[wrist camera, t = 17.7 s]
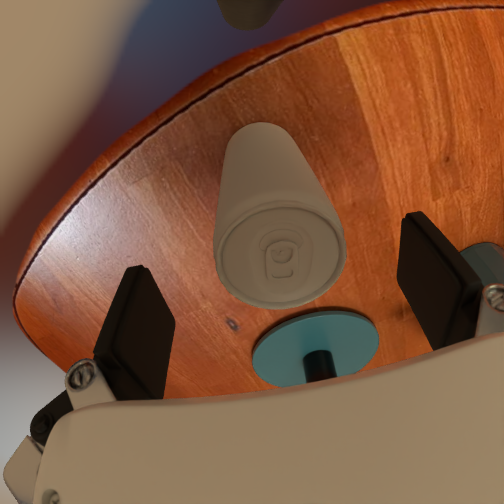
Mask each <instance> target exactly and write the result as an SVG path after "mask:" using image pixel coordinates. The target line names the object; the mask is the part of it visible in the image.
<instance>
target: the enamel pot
mask: <svg viewBox="0 0 504 504" xmlns="http://www.w3.org/2000/svg"><path fill="white" fill-rule="evenodd" d="M460 254H461V255H462V256H463V258H464V259H465V260H466V261H467V262H468V264H469V265H470V266H471V267H472V268H473V270H474V271H475V272H476V273H477V275H478V276H479V277H480V279H481V280H482V281H481V283H482V284H483V285H484V287H486V286H487V285H489V284H492V283H499V284H503V285H504V249H503V248H501V247H499V246H498V245H496V244H494V243H479V244H476V245H473V246H471V247H469V248H467V249H465V250H463V251H461V252H460ZM433 351H434V350H433Z"/></svg>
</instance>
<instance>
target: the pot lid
mask: <svg viewBox="0 0 504 504" xmlns="http://www.w3.org/2000/svg"><path fill="white" fill-rule="evenodd" d="M378 345H379V335H378V332H377V330H376V327H375V326H374V325H373V323H372V322H371V321H369V320H368V319H367V318H365V317H363V316H361V315H359V314H356V313H352V312H346V311H322V312H315V313H310V314H306V315H302V316H299V317H296V318H293V319H291V320H288V321H286V322H284V323H282V324H280V325H278V326H276V327H275V328H273V329H272V330H270V331H269V332H268V333H267V334H265V335H264V336H263V337H262V338H261V339H260V340H259V342H258V343H257V345H256V346H255V348H254V351H253V354H252V365H253V368H254V370H255V372H256V374H257V375H258V376H259V377H260V378H261V379H263V380H264V381H266V382H267V383H270V384H272V385H275V386H278V387H289V386H295V385H301V384H306V383H311V382H317V381H322V380H327V379H331V378H336V377H340V376H345V375H349V374H354V373H356V372H358V371H359V370H360V369H362V368H363V367H364V366H365V365H366V364H367V363H368V362H369V361H370V360H371V359H372V358H373V356H374V355H375V353H376V351H377V348H378Z"/></svg>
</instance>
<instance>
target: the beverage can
mask: <svg viewBox="0 0 504 504" xmlns="http://www.w3.org/2000/svg"><path fill="white" fill-rule="evenodd" d="M213 254H214V259H215V262H216V271H217V273H218V276H219V278H220V281H221V283H222V284H223V285H224V286H225V288H226V289H227V290H228V292H229V293H231V294H232V295H233V296H235V297H236V298H237V299H239V300H240V301H242V302H244V303H247V304H249V305H252V306H254V307H259V308H265V309H287V308H292V307H297V306H301V305H303V304H306V303H308V302H311V301H313V300H315V299H316V298H318V297H319V296H321V295H322V294H324V293H325V292H326V291H327V290H328V289H329V288H330V287H331V286H332V285H333V284H334V283H335V282H336V281H337V279H338V278H339V276H340V274H341V273H342V271H343V268H344V264H345V261H346V257H347V255H346V242H345V239H344V230H343V228H342V225H341V222H340V220H339V217H338V215H337V213H336V211H335V209H334V207H333V206H332V204H331V202H330V200H329V198H328V197H327V195H326V193H325V191H324V190H323V188H322V186H321V184H320V183H319V181H318V179H317V178H316V176H315V174H314V172H313V171H312V169H311V167H310V166H309V164H308V162H307V161H306V159H305V157H304V156H303V154H302V153H301V151H300V149H299V148H298V146H297V145H296V143H295V141H294V140H293V138H292V137H291V136H290V135H289V134H288V132H287V131H286V130H284V129H282V128H281V127H279V126H278V125H274V124H271V123H265V122H257V123H252V124H249V125H246V126H244V127H242V128H241V129H239V130H238V131H237V132H236V133H235V134H234V135H233V136H232V137H231V139H230V141H229V142H228V145H227V148H226V151H225V157H224V164H223V171H222V177H221V184H220V191H219V199H218V206H217V213H216V221H215V229H214V236H213Z"/></svg>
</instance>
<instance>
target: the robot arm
mask: <svg viewBox="0 0 504 504" xmlns="http://www.w3.org/2000/svg"><path fill="white" fill-rule="evenodd" d="M481 281H482V280H481V279H480V277H479V276H478V275H477V273H476V272H475V271H474V270H473V268H472V267H471V266H470V265H469V264H468V262H467V261H466V260H465V259H464V258H463V256H462V255H461V254H460V253H459V252H458V250H457V249H456V248H455V247H454V246H453V245H452V244H451V242H450V241H449V240H448V239H447V238H446V237H445V236H444V235H443V233H442V232H441V231H440V230H439V229H438V228H437V227H436V226H435V225H434V224H433V223H432V222H431V221H430V219H429V218H428V217H427V216H426V215H425V214H424V213H423V212H421V211H417V212H412V213H407V214H406V216H405V218H403V219H402V222H401V236H400V248H399V259H398V268H397V282H398V284H399V286H400V288H401V290H402V292H403V293H404V295H405V297H406V299H407V301H408V303H409V304H410V306H411V308H412V310H413V312H414V314H415V316H416V318H417V319H418V321H419V323H420V325H421V327H422V329H423V331H424V333H425V335H426V337H427V339H428V341H429V343H430V345H431V347H432V349H433V350H434V351H432V352H429V353H426V354H422V355H419V356H416V357H413V358H409V359H406V360H403V361H399V362H396V363H392V364H389V365H385V366H381V367H378V368H374V369H370V370H366V371H362V372H358V373H354V374H349V375H345V376H340V377H336V378H331V379H327V380H322V381H317V382H311V383H306V384H301V385H295V386H289V387H283V388H276V389H270V390H263V391H255V392H247V393H239V394H230V395H220V396H209V397H196V398H179V399H163V396H164V390H165V383H166V377H167V371H168V365H169V359H170V353H171V347H172V342H173V336H174V331H175V319H174V317H173V315H172V313H171V311H170V309H169V307H168V305H167V303H166V302H165V300H164V298H163V296H162V294H161V292H160V290H159V288H158V286H157V284H156V282H155V280H154V278H153V276H152V274H151V272H150V270H149V269H148V268H144V266H143V265H138V266H133V267H128V268H127V269H126V271H125V273H124V275H123V278H122V280H121V282H120V285H119V287H118V289H117V292H116V294H115V296H114V299H113V301H112V304H111V306H110V309H109V311H108V313H107V316H106V319H105V321H104V324H103V326H102V329H101V331H100V334H99V337H98V339H97V342H96V345H95V348H94V350H93V353H94V354H95V355H94V358H93V360H92V359H90V358H85V359H81V360H79V361H77V362H75V363H74V364H73V365H72V366H71V367H70V369H69V370H68V372H67V374H66V376H65V387H66V390H65V391H64V392H62V393H61V394H60V395H58V396H57V397H56V398H55V399H53V400H52V401H51V402H50V403H49V404H47V405H46V406H45V407H44V408H42V409H41V410H40V411H39V412H38V413H37V414H36V415H35V416H34V418H33V419H32V422H31V425H30V432H31V437H29V436H28V435H27V436H26V437H25V439H24V440H23V441H22V443H21V444H20V445H19V447H18V448H17V450H16V451H15V452H14V454H13V456H12V457H11V458H10V460H9V461H8V462H7V464H6V466H5V468H4V472H3V477H4V481H5V483H6V485H7V487H8V488H9V490H10V491H11V493H12V494H13V496H14V497H15V499H16V500H17V502H18V503H19V504H504V285H503V284H499V283H492V284H489V285H487V286H486V287H484V285H483V284H482V283H481Z"/></svg>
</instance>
